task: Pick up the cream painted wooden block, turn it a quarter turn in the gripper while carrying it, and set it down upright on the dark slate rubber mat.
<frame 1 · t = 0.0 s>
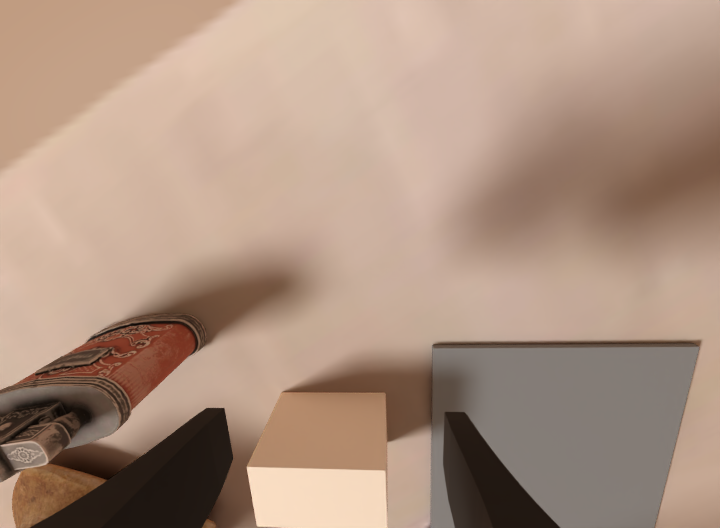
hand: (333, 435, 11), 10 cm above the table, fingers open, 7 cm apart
brown piece: (125, 516, 27), on the table
slate mat: (544, 458, 22), on the table
cream block: (335, 416, 23), on the table
red patterned tin: (151, 338, 22), on the table
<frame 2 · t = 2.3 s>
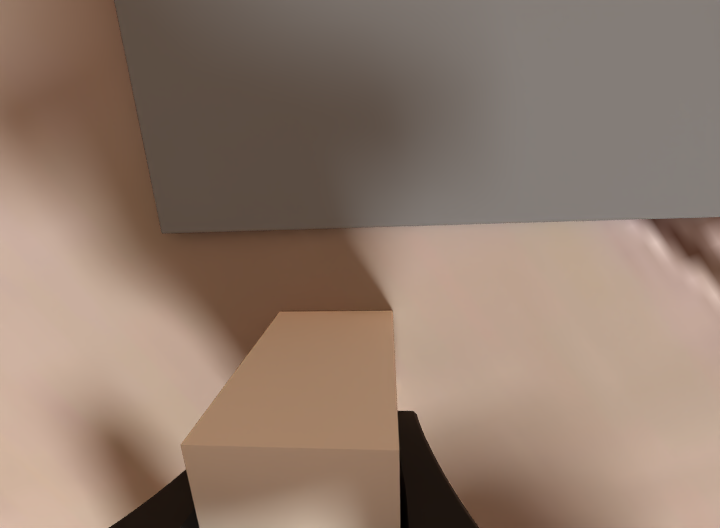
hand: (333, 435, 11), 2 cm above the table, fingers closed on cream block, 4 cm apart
cream block: (341, 396, 13), on the table, touching gripper
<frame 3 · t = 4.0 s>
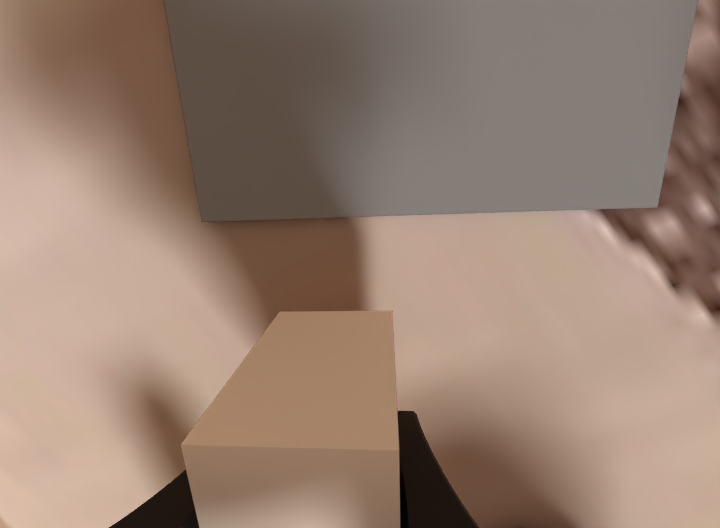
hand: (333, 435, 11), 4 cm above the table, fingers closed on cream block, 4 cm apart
cream block: (340, 396, 13), point 2 cm above the table, touching gripper
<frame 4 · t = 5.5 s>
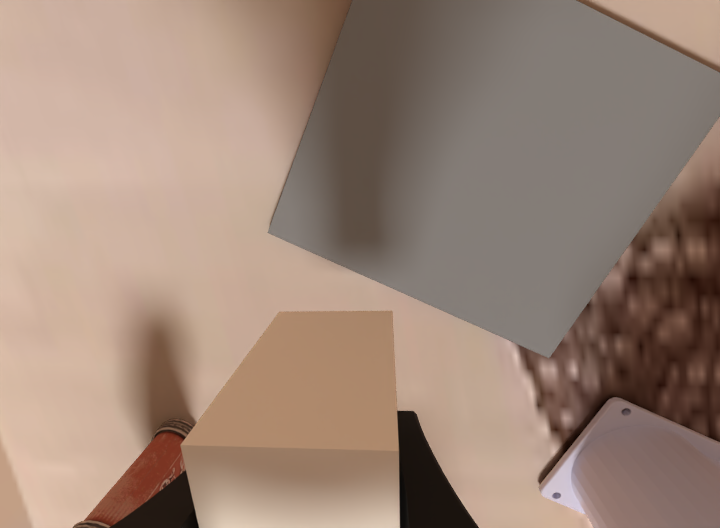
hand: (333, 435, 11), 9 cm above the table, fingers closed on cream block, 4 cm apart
slate mat: (478, 166, 17), on the table
cream block: (340, 396, 13), point 7 cm above the table, touching gripper
red patterned tin: (178, 463, 24), on the table
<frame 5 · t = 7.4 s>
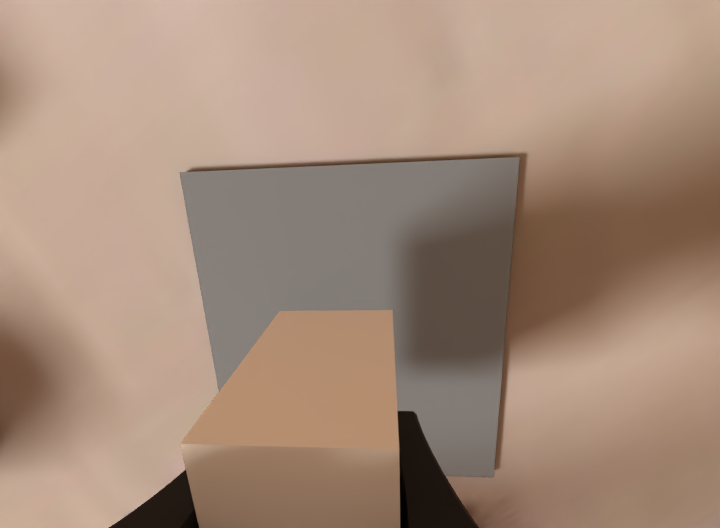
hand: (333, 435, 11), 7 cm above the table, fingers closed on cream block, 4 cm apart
slate mat: (352, 336, 17), on the table
cream block: (340, 395, 13), point 5 cm above the table, touching gripper
when the fingers open (3 cm above the table, at t = 8.9 s): cream block drops 1 cm, resting on slate mat.
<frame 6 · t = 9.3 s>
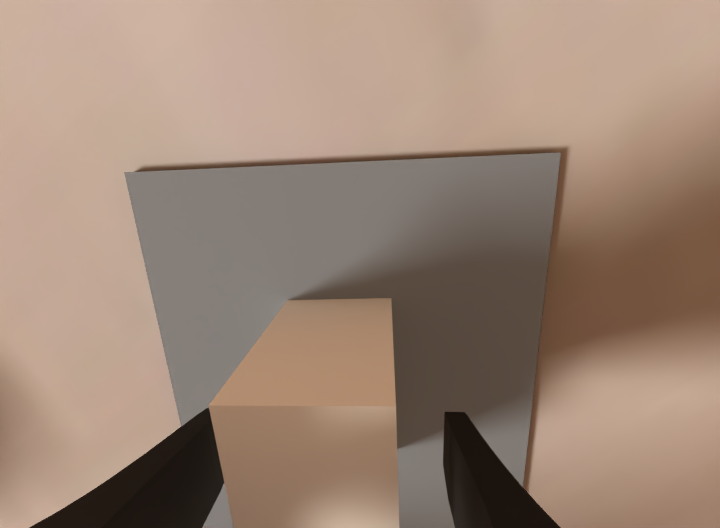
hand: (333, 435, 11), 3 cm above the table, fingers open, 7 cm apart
slate mat: (345, 373, 14), on the table
cream block: (344, 378, 14), resting on slate mat
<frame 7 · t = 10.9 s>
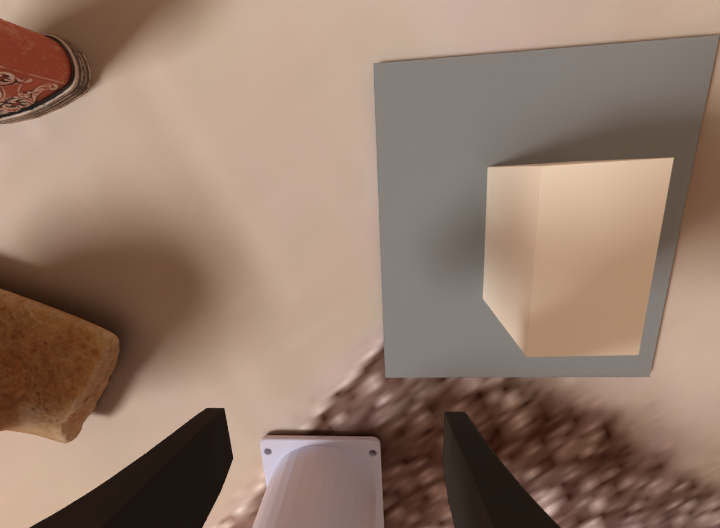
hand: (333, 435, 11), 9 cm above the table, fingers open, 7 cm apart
brown piece: (21, 353, 23), on the table
slate mat: (521, 233, 18), on the table
cream block: (524, 234, 17), resting on slate mat
red patterned tin: (26, 85, 18), on the table
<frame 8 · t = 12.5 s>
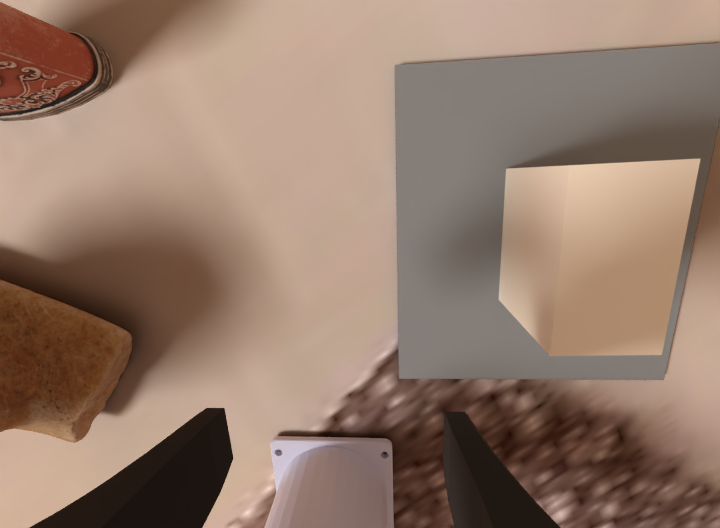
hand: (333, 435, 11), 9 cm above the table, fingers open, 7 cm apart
brown piece: (31, 350, 23), on the table
slate mat: (538, 235, 18), on the table
cream block: (541, 235, 18), resting on slate mat
red patterned tin: (47, 82, 18), on the table
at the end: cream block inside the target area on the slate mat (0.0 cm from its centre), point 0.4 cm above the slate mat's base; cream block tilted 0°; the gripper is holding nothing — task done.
